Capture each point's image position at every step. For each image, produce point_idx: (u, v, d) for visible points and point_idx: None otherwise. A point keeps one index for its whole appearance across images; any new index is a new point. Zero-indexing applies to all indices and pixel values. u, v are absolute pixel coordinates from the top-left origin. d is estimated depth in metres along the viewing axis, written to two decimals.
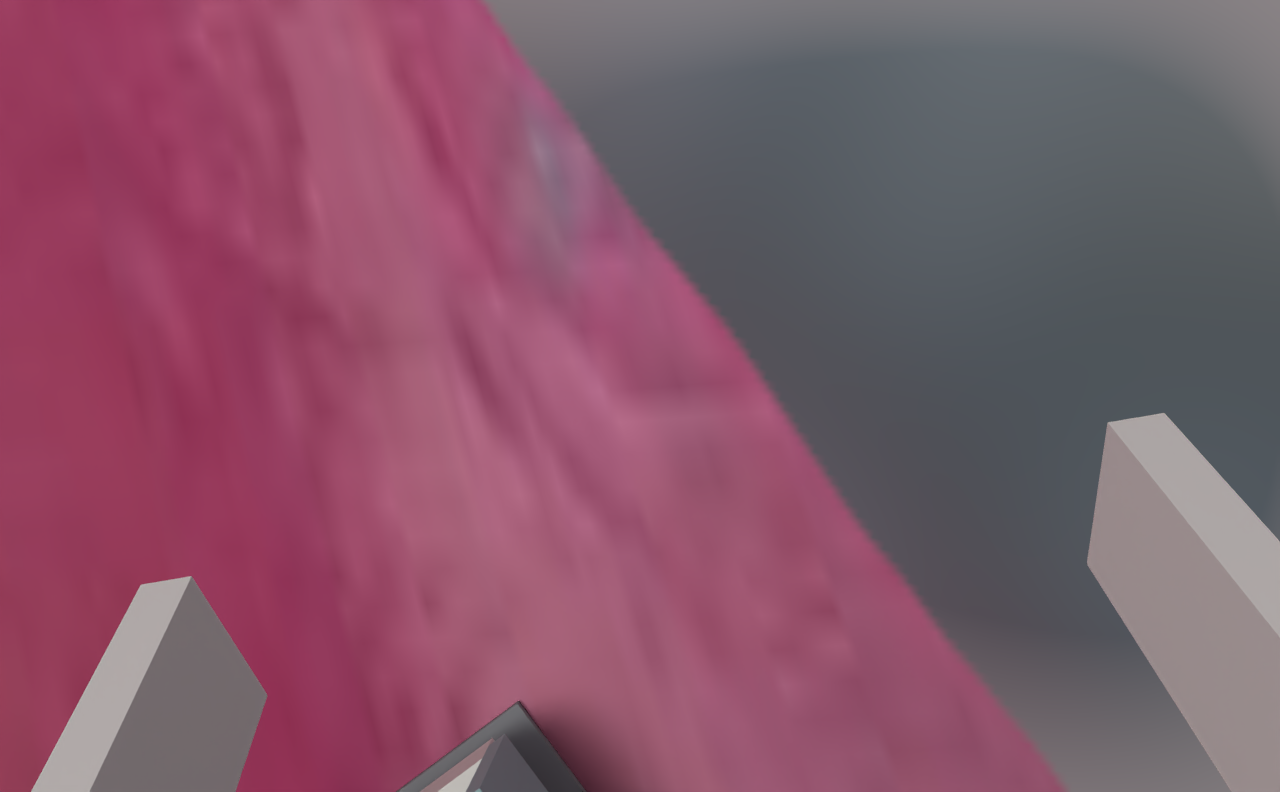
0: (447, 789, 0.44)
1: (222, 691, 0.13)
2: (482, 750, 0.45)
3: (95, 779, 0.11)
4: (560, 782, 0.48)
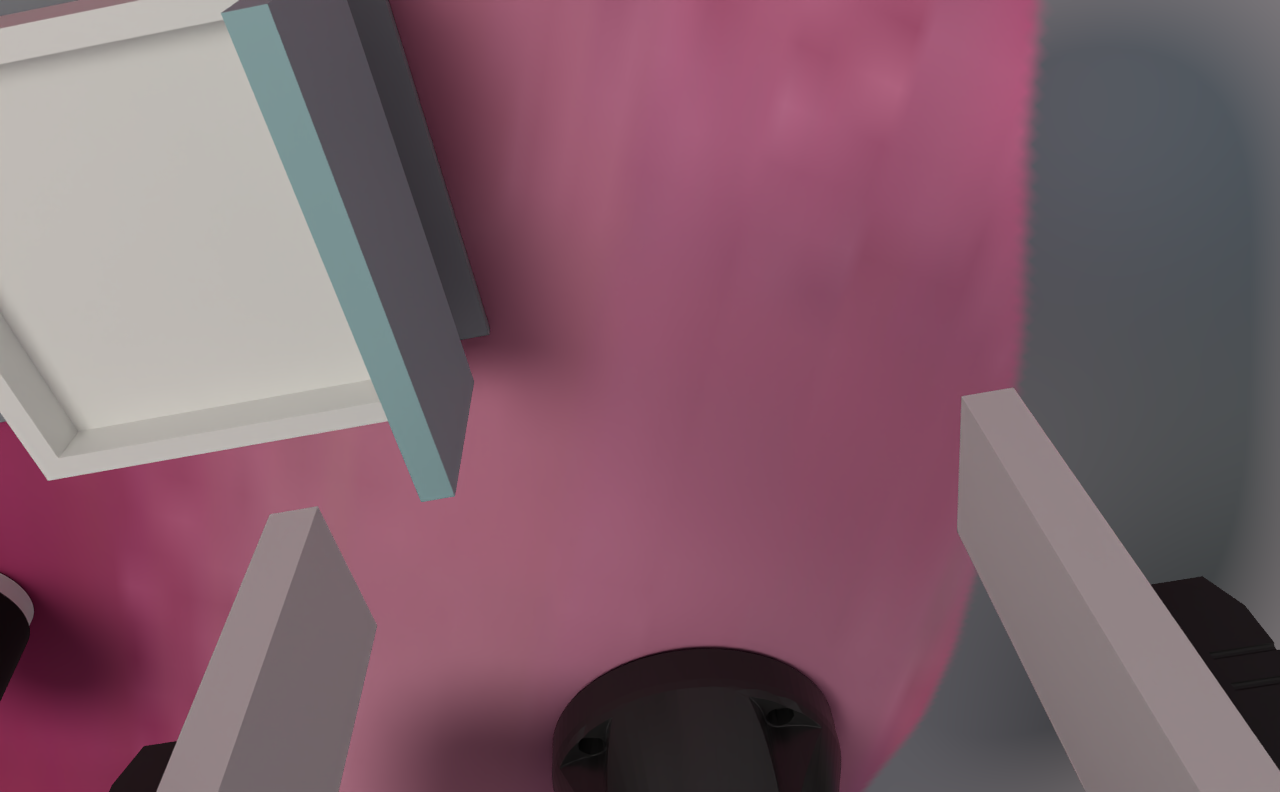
0: None
1: (344, 616, 0.14)
2: None
3: (257, 679, 0.11)
4: (390, 90, 0.29)
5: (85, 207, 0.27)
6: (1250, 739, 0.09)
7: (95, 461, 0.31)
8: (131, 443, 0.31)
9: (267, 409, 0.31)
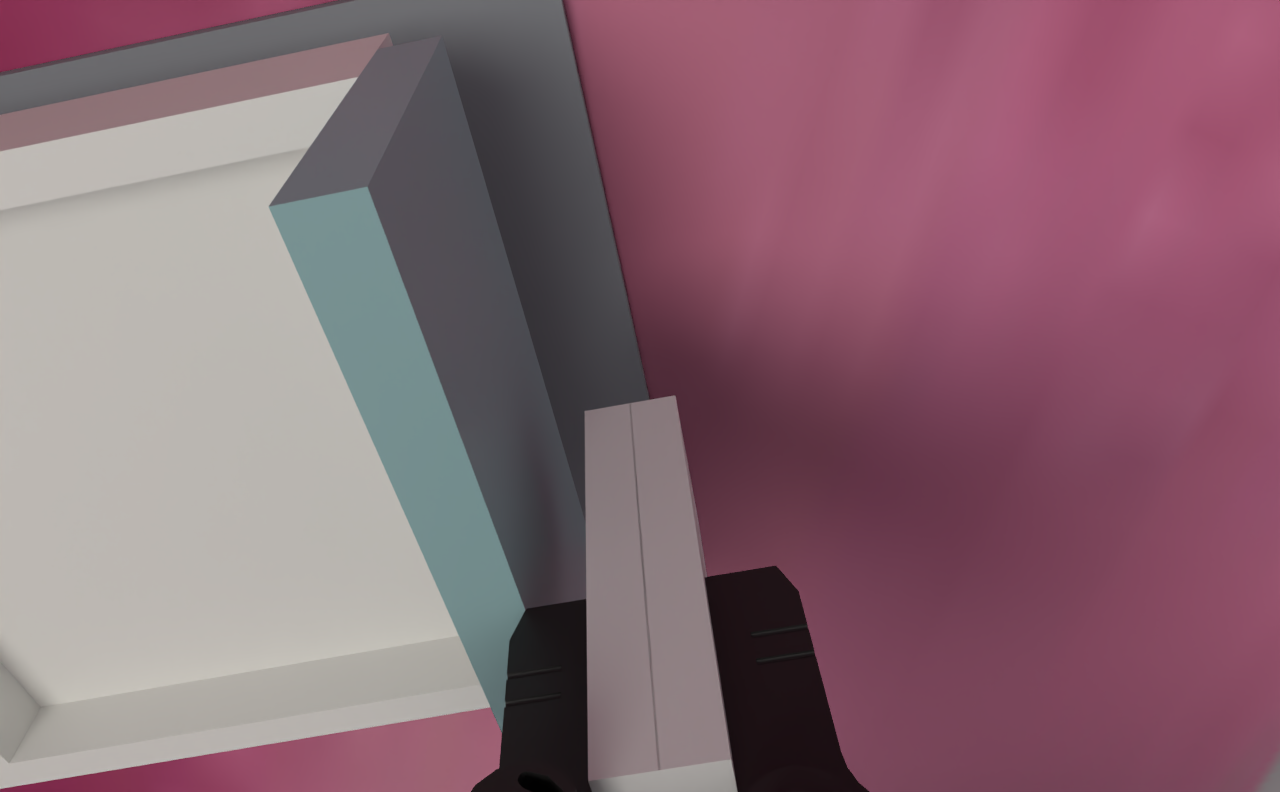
0: (209, 122, 0.13)
1: None
2: (354, 54, 0.14)
3: (639, 542, 0.12)
4: (572, 207, 0.19)
5: (38, 424, 0.17)
6: (716, 704, 0.10)
7: (64, 765, 0.21)
8: (117, 742, 0.21)
9: (317, 685, 0.21)
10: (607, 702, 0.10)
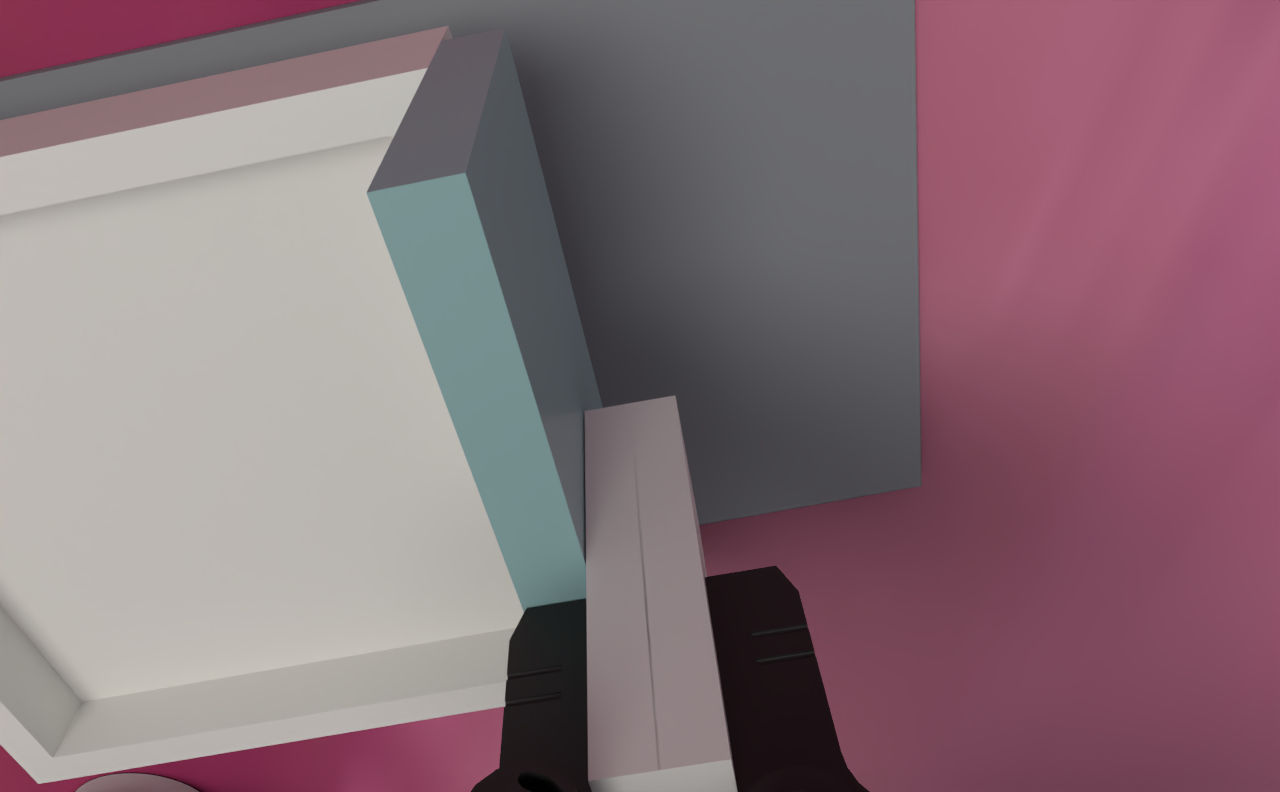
0: (277, 113, 0.13)
1: None
2: (417, 46, 0.14)
3: (639, 543, 0.12)
4: (882, 149, 0.19)
5: (89, 417, 0.17)
6: (716, 704, 0.10)
7: (107, 760, 0.21)
8: (161, 736, 0.21)
9: (360, 679, 0.21)
10: (607, 702, 0.10)
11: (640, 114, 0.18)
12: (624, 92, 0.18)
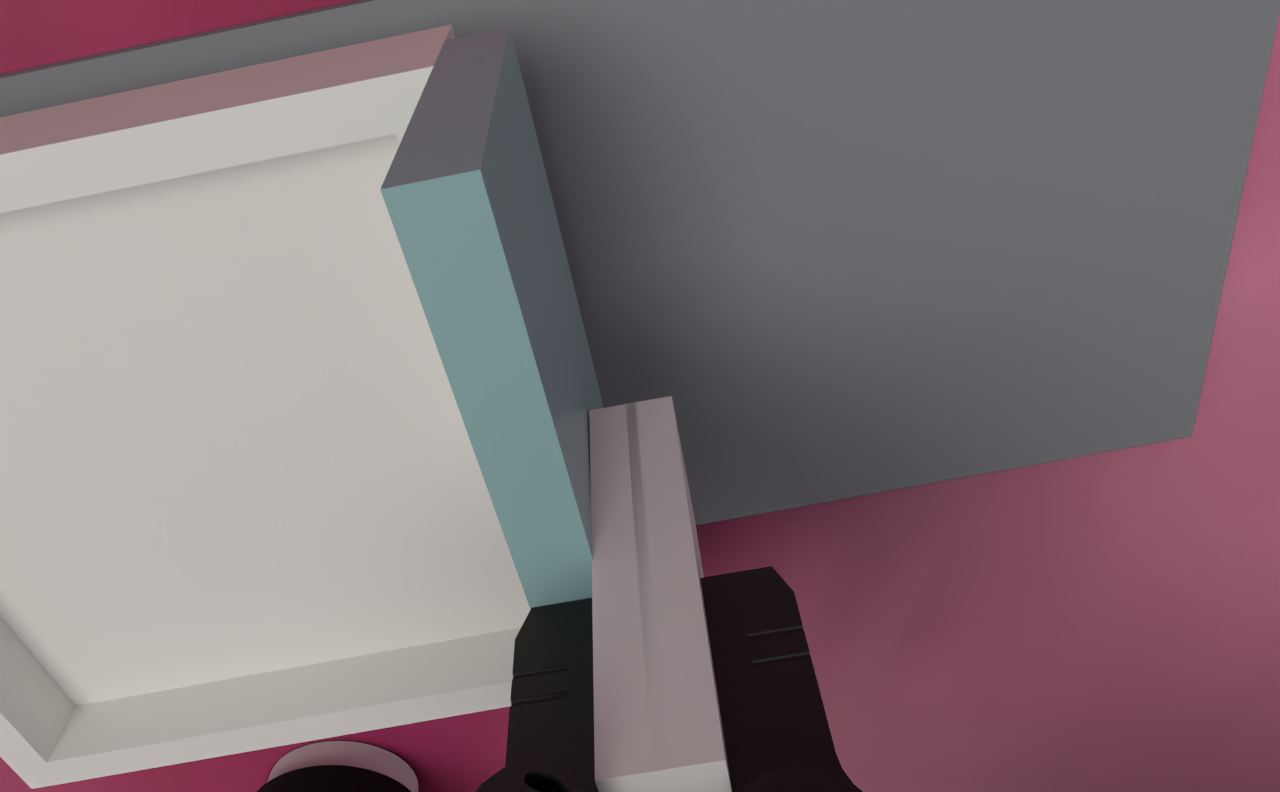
0: (281, 111, 0.13)
1: None
2: (421, 45, 0.14)
3: (645, 542, 0.12)
4: (1231, 81, 0.19)
5: (86, 417, 0.17)
6: (711, 705, 0.10)
7: (102, 764, 0.21)
8: (156, 740, 0.20)
9: (358, 681, 0.21)
10: (613, 701, 0.10)
11: (1001, 42, 0.18)
12: (991, 18, 0.18)
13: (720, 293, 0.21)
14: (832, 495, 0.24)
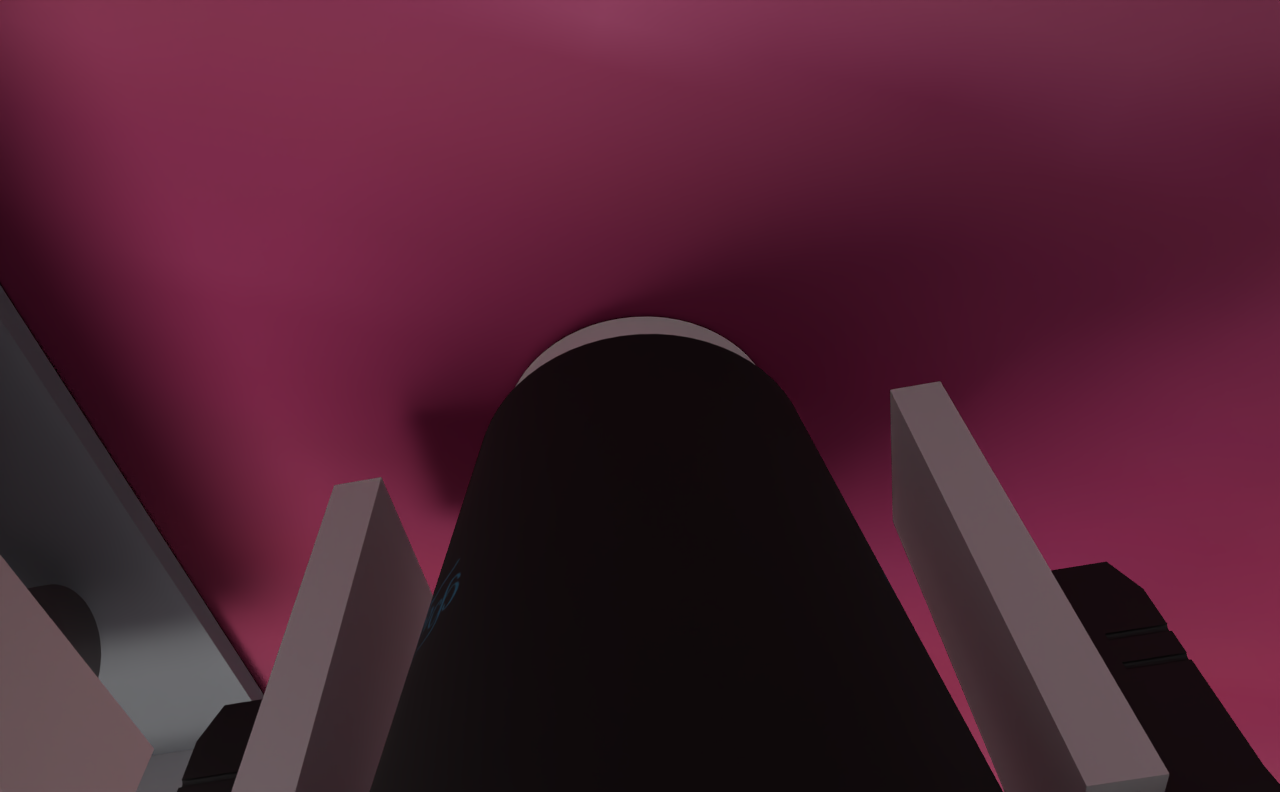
0: None
1: (406, 585, 0.15)
2: None
3: (336, 638, 0.12)
4: None
5: None
6: (1127, 713, 0.09)
7: None
8: None
9: None
10: None
11: None
12: None
13: None
14: None
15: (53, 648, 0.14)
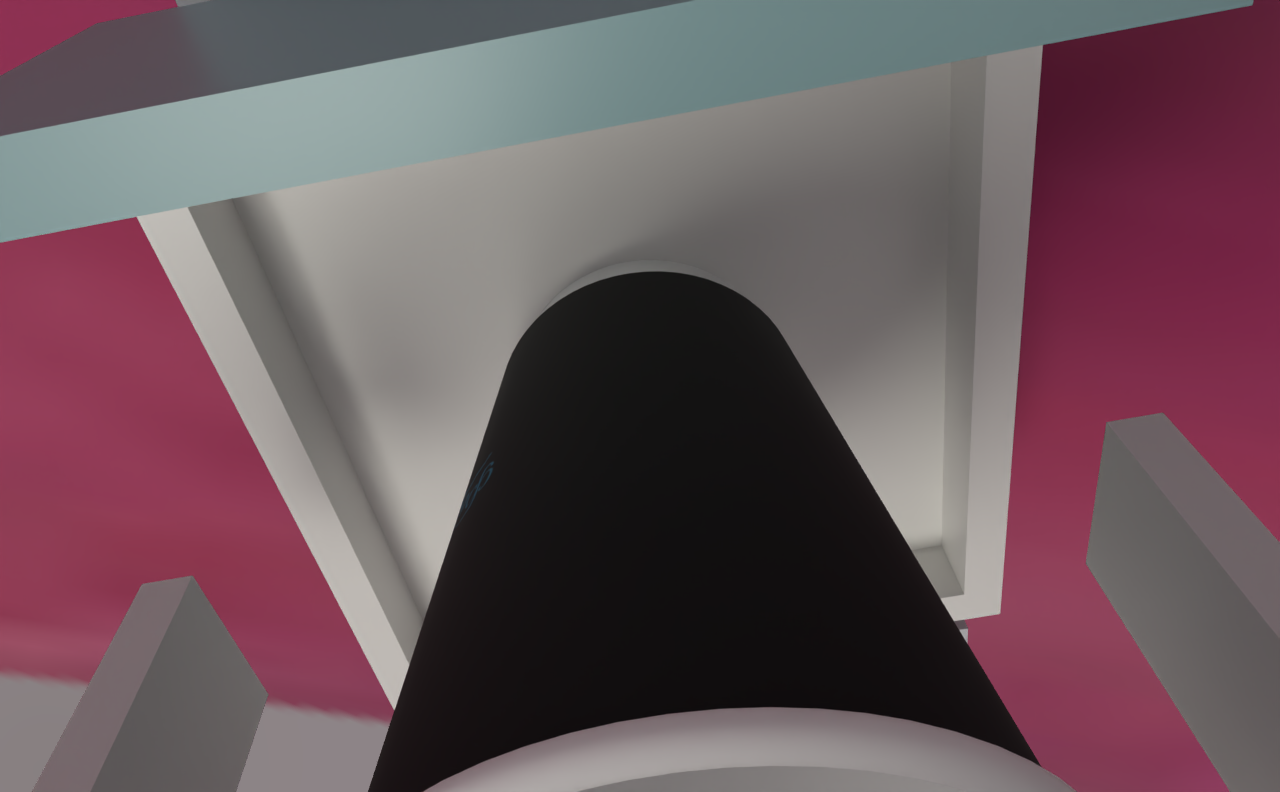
0: (170, 259, 0.14)
1: (223, 690, 0.13)
2: None
3: (97, 778, 0.11)
4: None
5: None
6: None
7: (983, 555, 0.19)
8: (966, 504, 0.18)
9: (961, 292, 0.16)
10: None
11: None
12: None
13: None
14: None
15: None
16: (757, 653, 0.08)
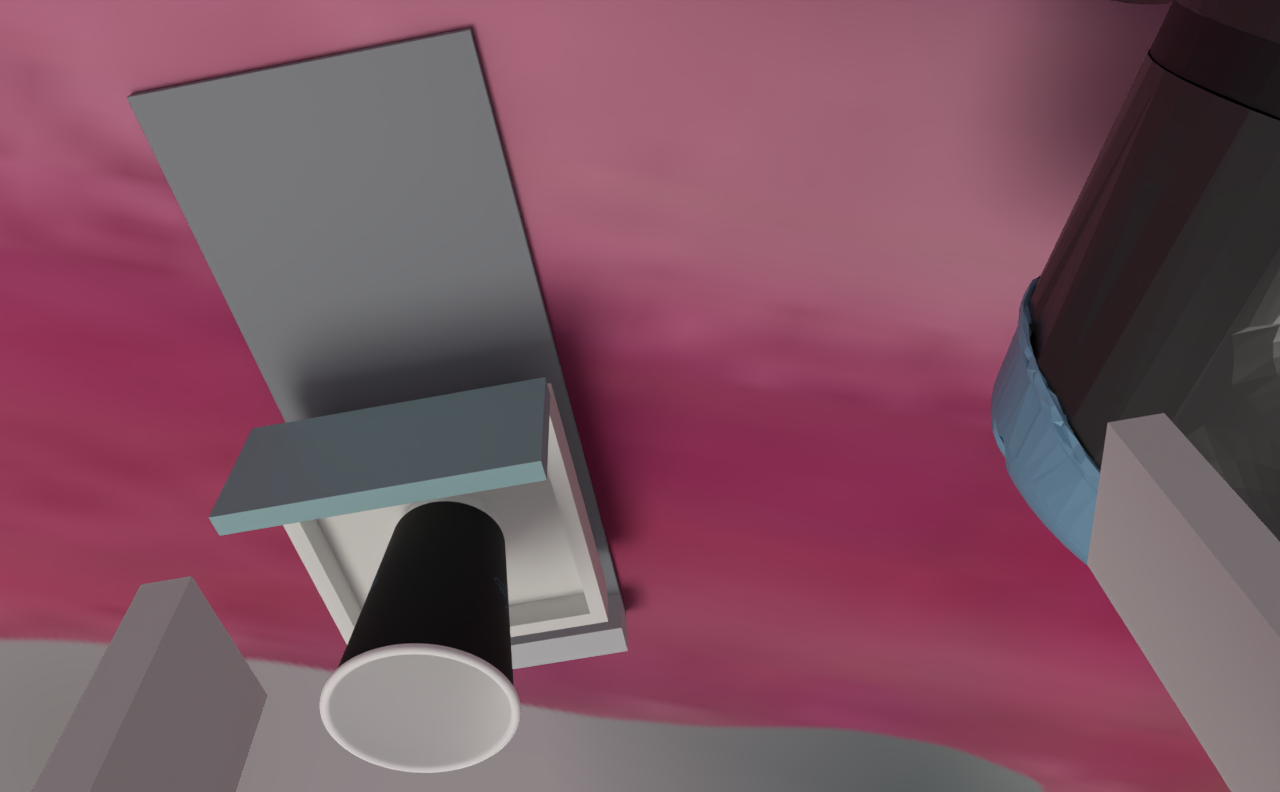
0: None
1: (222, 691, 0.13)
2: None
3: (96, 779, 0.11)
4: (247, 93, 0.37)
5: None
6: None
7: (592, 598, 0.47)
8: (580, 578, 0.46)
9: None
10: None
11: (254, 209, 0.40)
12: (245, 216, 0.40)
13: (396, 313, 0.43)
14: (523, 246, 0.41)
15: (596, 550, 0.48)
16: (420, 633, 0.36)
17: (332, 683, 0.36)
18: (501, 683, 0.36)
